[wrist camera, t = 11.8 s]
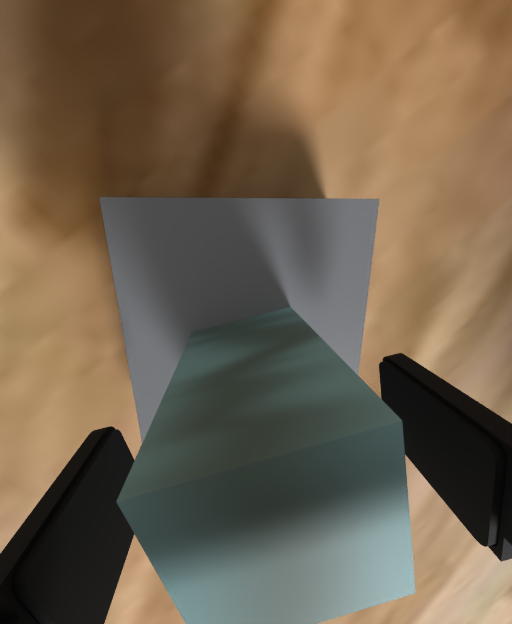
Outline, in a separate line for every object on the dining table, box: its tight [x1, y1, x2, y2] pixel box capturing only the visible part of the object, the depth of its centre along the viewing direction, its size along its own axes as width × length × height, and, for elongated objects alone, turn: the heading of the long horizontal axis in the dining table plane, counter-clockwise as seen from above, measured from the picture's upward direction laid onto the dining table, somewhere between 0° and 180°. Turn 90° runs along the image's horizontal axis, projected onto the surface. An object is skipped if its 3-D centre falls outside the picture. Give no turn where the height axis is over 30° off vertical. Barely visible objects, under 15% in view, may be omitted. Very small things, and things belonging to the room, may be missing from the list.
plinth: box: [99, 197, 379, 443], centre depth 15 cm, size 12×16×6 cm
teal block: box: [116, 307, 415, 624], centre depth 9 cm, size 5×5×8 cm
